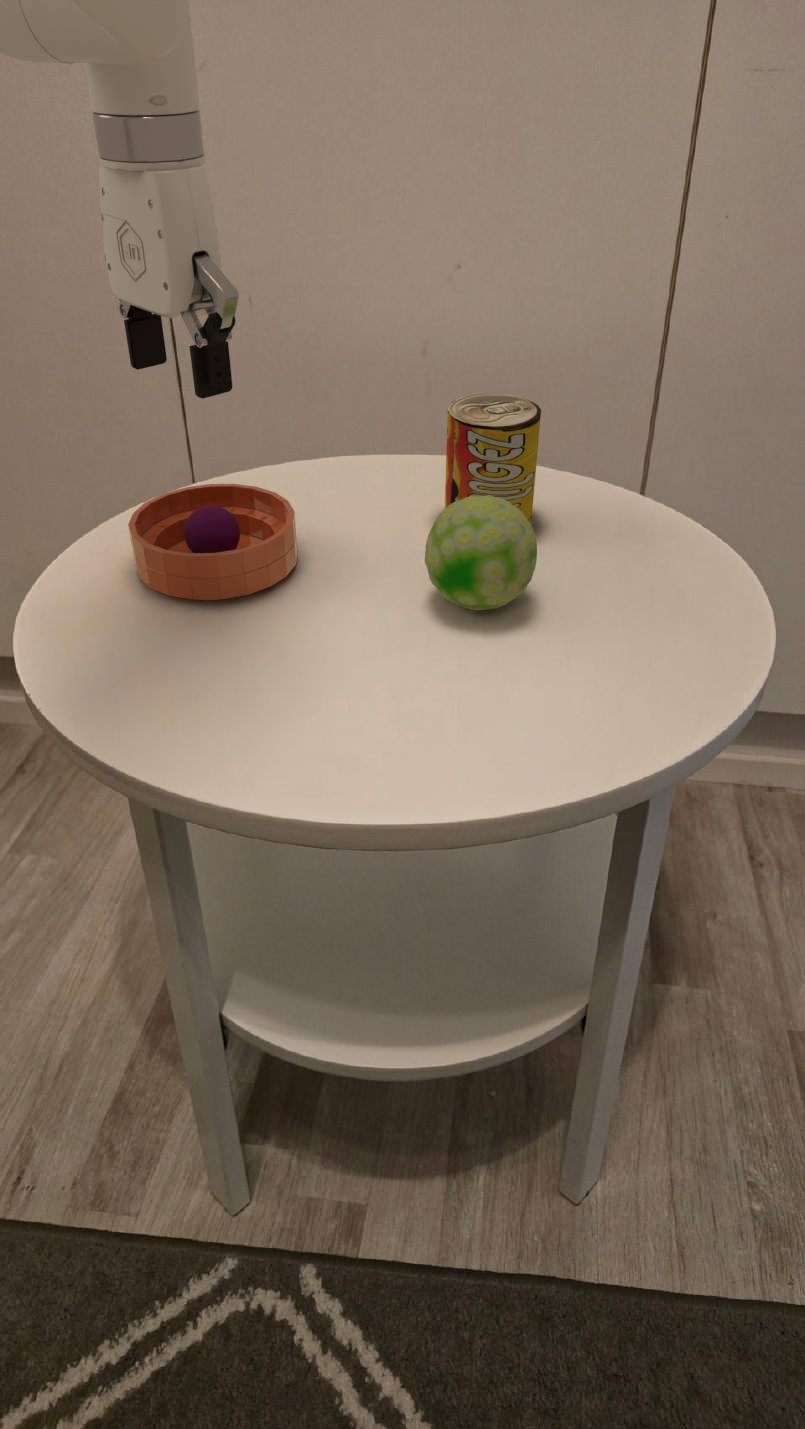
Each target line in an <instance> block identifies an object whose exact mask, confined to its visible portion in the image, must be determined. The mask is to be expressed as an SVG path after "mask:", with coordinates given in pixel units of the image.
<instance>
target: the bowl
mask: <svg viewBox="0 0 805 1429" xmlns="http://www.w3.org/2000/svg"><path fill="white" fill-rule="evenodd" d="M209 505H213V506H219V507H222V508H224V509H226V510H227V511H229V512H230V513H231V514H232V515H233V516H234V518H235V519H236V521H237V523H238V525H239V529H240V539H239V543H238V546H237V548H236V549H235V550H230V551H224V552H218V553H193V552H192V551H191V550H190V549H189V547H188V546H187V544H186V541H185V537H184V528H185V524H186V521H187V519H188V518H189V516H190V515H191V514H192V513H193V512H194V511H195V510H197V509H199V508H201V507H204V506H209ZM127 526H128V532H129V537H130V541H131V549H132V554H133V559H134V564H135V569H136V572H137V576H138V578H139V579H140V581H142V582H143V583H144V584H145V585H147V586H148V588H150V589H152V590H154V591H157V592H159V593H161V594H164V595H166V596H169V597H175V598H181V599H188V600H194V601H205V600H206V601H208V600H209V601H211V600H212V601H213V600H218V601H219V600H226V599H231V598H237V597H243V596H247V595H251V594H253V593H257V592H259V591H262V590H266V589H268V588H270V587H272V586H274V585H275V584H277V583H278V582H280V581H282V580H283V579H285V578H286V577H287V576H288V575H289V574H290V572H291V571H292V570H293V569H294V568H295V566H296V564H297V560H298V541H297V540H298V539H297V526H296V511H295V510H294V508H293V507H292V505H291V503H290V501H289V500H287V498H284V497H283V496H282V495H279V493H277V492H275V491H271V490H269V489H265V488H262V487H259V486H256V485H255V486H254V485H248V484H247V485H245V484H238V483H207V484H200V485H193V486H187V487H186V486H185V487H183V488H179V489H175V490H172V491H169V492H165V493H162V494H160V495H157V496H156V497H153V498H152V499H150V500H147V501H146V502H143V504H142V505H140V506H139V507H138V508H137V509H136V510H135V511H134V512H133V513H132V514H131V517H130V518H129V522H128V525H127Z"/></svg>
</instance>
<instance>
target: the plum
mask: <svg viewBox="0 0 805 1429" xmlns="http://www.w3.org/2000/svg"><path fill="white" fill-rule="evenodd" d="M184 537H185V541H186V544H187V546H188V547H189V549H190V550H191V551H192V552H193V553H218V552H224V551H230V550H235V549H236V548H237V546H238V543H239V539H240V529H239V525H238V523H237V521H236V519H235V518H234V516H233V515H232V514H231V513H230V512H229V511H227V510H226V509H224V508H222V507H219V506H213V505H209V506H204V507H201V508H199V509H197V510H195V511H194V512H193V513H192V514H191V515H190V516H189V518H188V519H187V521H186V524H185V528H184Z"/></svg>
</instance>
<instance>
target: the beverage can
mask: <svg viewBox="0 0 805 1429" xmlns="http://www.w3.org/2000/svg"><path fill="white" fill-rule="evenodd" d="M541 416H542V408H541V407H540V406H539V405H538V404H536V403H535V402H534V401H533V400H530V399H528V398H525V397H521V396H518V395H513V394H506V393H505V394H504V393H477V394H470V395H466V396H463V397H458V398H457V399H455V400H453V401H452V402H451V403H450V404H448V406H447V417H446V418H447V419H446V420H447V421H446V450H445V451H446V452H445V454H446V455H445V484H444V485H445V488H444V490H445V491H444V509H446V508H447V507H448V506H449V505H450V504H452V503H454V502H456V501H458V500H462V499H464V498H466V497H473V496H487V495H490V496H494V497H499V498H502V499H504V500H506V501H508V502H509V503H511V504H512V505H513V506H515V507H516V508H518V509H519V510H521V512H522V513H523V514H524V516H525V517H526V519H527V520H528V521H529V523H530V524H531V525H532V519H533V508H534V497H535V483H536V476H537V475H536V474H537V462H538V452H539V440H540V430H541V429H540V428H541Z"/></svg>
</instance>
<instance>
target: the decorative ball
mask: <svg viewBox="0 0 805 1429" xmlns="http://www.w3.org/2000/svg"><path fill="white" fill-rule="evenodd" d="M537 543H538V542H537V536H536V532H535V530H534V527H533V525H532V523H531V524H530V523H529V521H528V520H527V519H526V517H525V516H524V514H523V513H522V512H521V510H519V509H518V508H516V507H515V506H513V505H512V504H511V503H509V502H508V501H506V500H504V499H502V498H499V497H494V496H490V495H487V496H473V497H466V498H464V499H462V500H458V501H456V502H454V503H452V504H450V505H449V506H448V507H447V508H446V509H445V508H444V509H443V510H442V511H441V513H440V514H439V515H438V517H437V518H436V520H435V521H434V523H433V525H432V527H431V529H430V530H429V532H428V535H427V539H426V543H425V551H424V563H425V566H426V569H427V573H428V577H429V580H430V582H431V583H432V585H433V586H434V587H435V588H436V590H438V591H439V593H440V594H441V595H442V597H443V598H445V600H447V601H449V603H451V604H453V605H455V606H460V607H462V608H465V609H467V610H471V611H489V610H496V609H498V608H501V607H504V606H506V605H507V604H508V603H510V602H512V601H513V600H514V599H516V598H517V597H519V596H520V595H521V594H522V593H523V592H524V591H526V589H527V588H528V585H529V584H530V582H531V581H532V579H533V575H534V573H535V570H536V566H537V557H538V544H537Z"/></svg>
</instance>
